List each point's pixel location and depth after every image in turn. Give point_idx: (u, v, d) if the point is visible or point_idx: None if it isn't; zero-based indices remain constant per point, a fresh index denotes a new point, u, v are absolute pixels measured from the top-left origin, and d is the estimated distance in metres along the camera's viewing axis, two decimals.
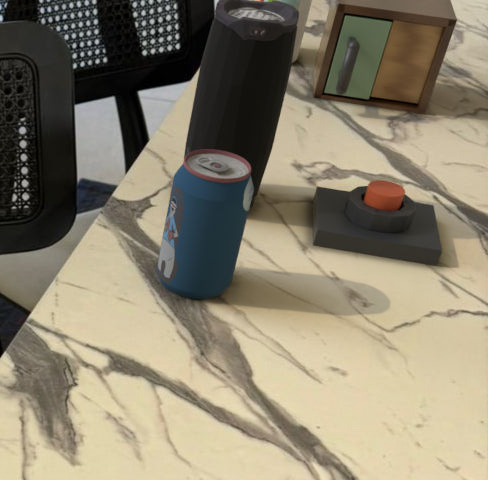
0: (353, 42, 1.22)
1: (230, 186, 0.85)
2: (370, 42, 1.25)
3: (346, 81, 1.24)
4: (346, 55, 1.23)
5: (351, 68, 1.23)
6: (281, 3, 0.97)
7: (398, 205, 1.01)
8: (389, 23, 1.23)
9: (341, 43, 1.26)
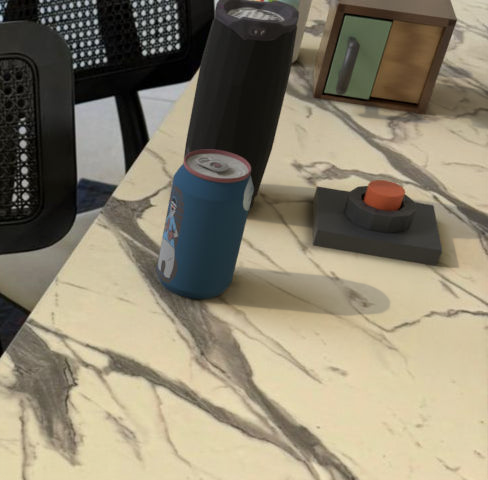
0: (353, 42, 1.22)
1: (230, 186, 0.85)
2: (370, 42, 1.25)
3: (346, 81, 1.24)
4: (346, 55, 1.23)
5: (351, 68, 1.23)
6: (281, 3, 0.97)
7: (398, 205, 1.01)
8: (389, 23, 1.23)
9: (341, 43, 1.26)
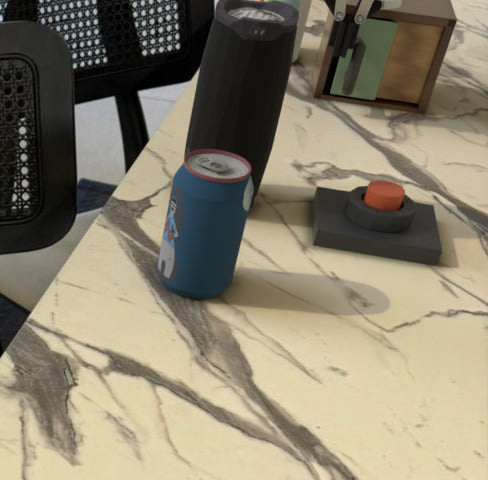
0: (359, 43, 1.22)
1: (230, 186, 0.85)
2: (376, 43, 1.25)
3: (352, 82, 1.24)
4: (352, 56, 1.23)
5: (357, 69, 1.23)
6: (281, 3, 0.97)
7: (398, 205, 1.01)
8: (395, 24, 1.23)
9: None
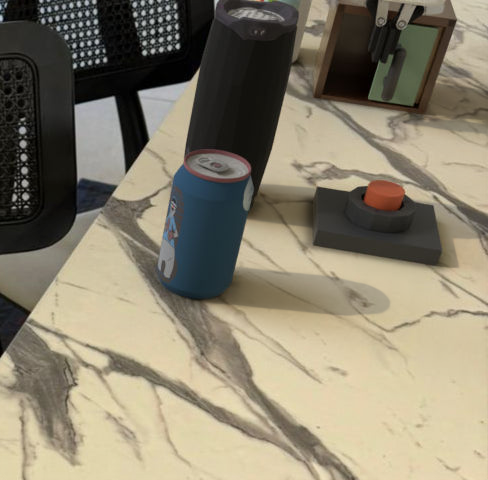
0: (400, 49, 1.21)
1: (230, 186, 0.85)
2: (416, 48, 1.24)
3: (392, 88, 1.24)
4: (393, 62, 1.22)
5: (397, 74, 1.23)
6: (281, 3, 0.97)
7: (398, 205, 1.01)
8: (436, 30, 1.23)
9: None
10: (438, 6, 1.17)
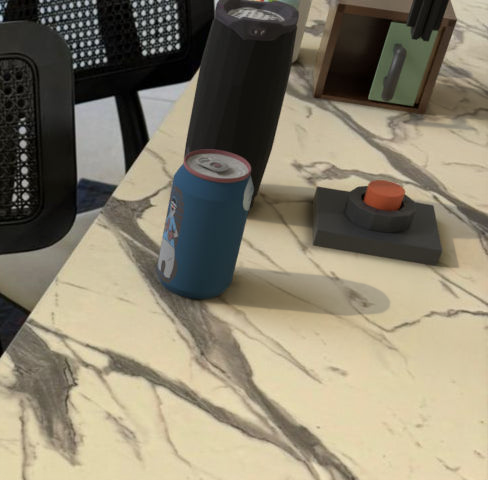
0: (400, 49, 1.21)
1: (230, 186, 0.85)
2: (416, 48, 1.24)
3: (392, 88, 1.24)
4: (393, 62, 1.22)
5: (398, 74, 1.23)
6: (281, 3, 0.97)
7: (398, 205, 1.01)
8: None
9: (386, 49, 1.25)
10: None
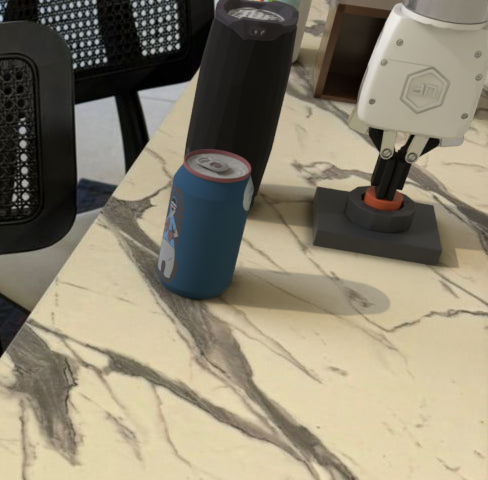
0: None
1: (230, 186, 0.85)
2: None
3: None
4: None
5: None
6: (281, 3, 0.97)
7: None
8: None
9: None
10: (456, 137, 0.96)
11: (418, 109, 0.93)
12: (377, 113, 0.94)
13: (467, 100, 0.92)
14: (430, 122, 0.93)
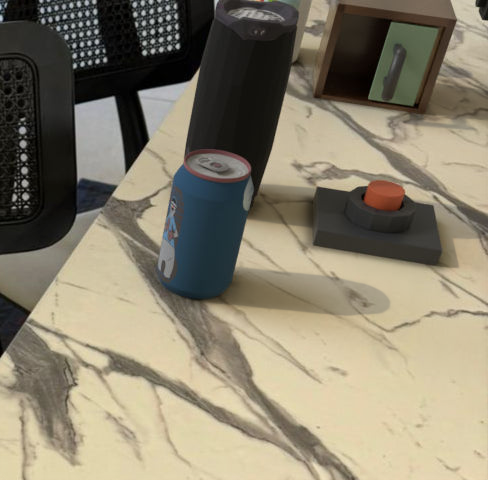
0: (400, 49, 1.21)
1: (230, 186, 0.85)
2: (416, 48, 1.24)
3: (392, 88, 1.24)
4: (393, 62, 1.22)
5: (398, 74, 1.23)
6: (281, 3, 0.97)
7: (398, 205, 1.01)
8: (436, 30, 1.23)
9: (386, 49, 1.25)
10: None
11: None
12: None
13: None
14: None
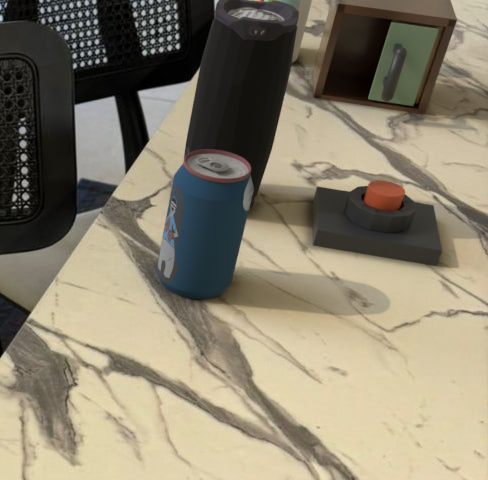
0: (400, 49, 1.21)
1: (230, 186, 0.85)
2: (416, 48, 1.24)
3: (392, 88, 1.24)
4: (393, 62, 1.22)
5: (398, 74, 1.23)
6: (281, 3, 0.97)
7: (398, 205, 1.01)
8: (436, 30, 1.23)
9: (386, 49, 1.25)
10: None
11: None
12: None
13: None
14: None
